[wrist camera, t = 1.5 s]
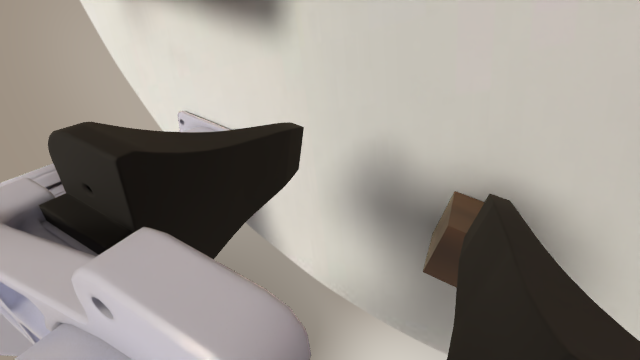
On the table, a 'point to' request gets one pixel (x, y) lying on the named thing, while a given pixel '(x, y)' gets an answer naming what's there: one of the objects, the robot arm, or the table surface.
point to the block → (451, 238)
